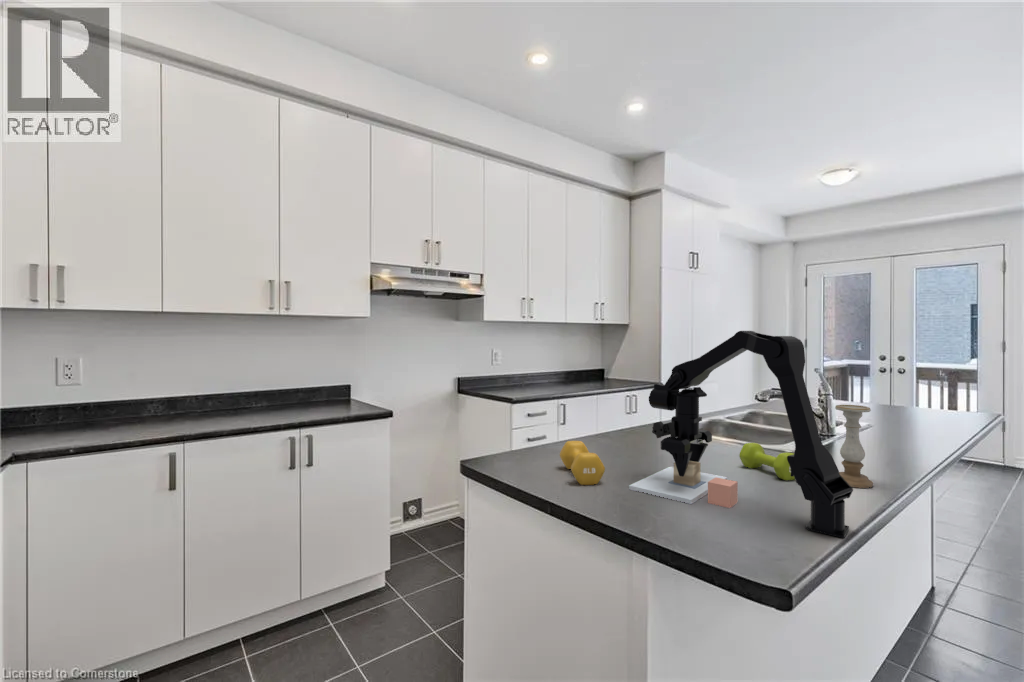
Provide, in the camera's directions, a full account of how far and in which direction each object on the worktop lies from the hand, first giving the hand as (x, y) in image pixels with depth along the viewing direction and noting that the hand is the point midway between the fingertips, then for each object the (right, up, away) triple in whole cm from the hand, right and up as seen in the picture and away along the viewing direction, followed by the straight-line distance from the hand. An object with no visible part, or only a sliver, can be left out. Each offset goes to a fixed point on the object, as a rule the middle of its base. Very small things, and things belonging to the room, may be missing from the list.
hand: (687, 473), depth 123 cm
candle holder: (+44, -4, +2) cm, 45 cm away
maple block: (0, -2, 0) cm, 2 cm away
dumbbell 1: (-26, -4, +10) cm, 28 cm away
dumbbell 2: (+28, -4, +12) cm, 31 cm away
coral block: (+4, -4, -12) cm, 13 cm away
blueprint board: (-2, -4, +1) cm, 4 cm away
